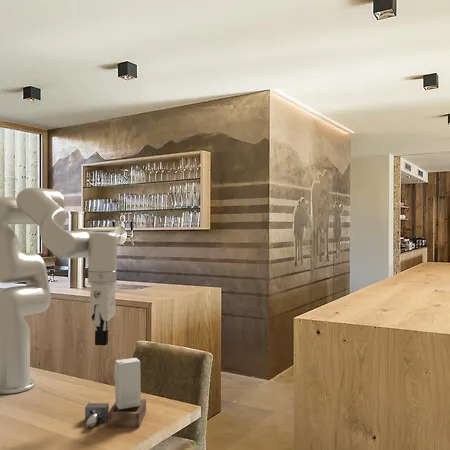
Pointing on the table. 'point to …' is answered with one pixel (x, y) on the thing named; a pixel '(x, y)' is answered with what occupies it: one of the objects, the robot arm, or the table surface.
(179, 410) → the table surface
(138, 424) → the brown wooden open box
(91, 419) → the lock pin
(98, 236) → the robot arm
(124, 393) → the skincare box
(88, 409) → the pin mount
